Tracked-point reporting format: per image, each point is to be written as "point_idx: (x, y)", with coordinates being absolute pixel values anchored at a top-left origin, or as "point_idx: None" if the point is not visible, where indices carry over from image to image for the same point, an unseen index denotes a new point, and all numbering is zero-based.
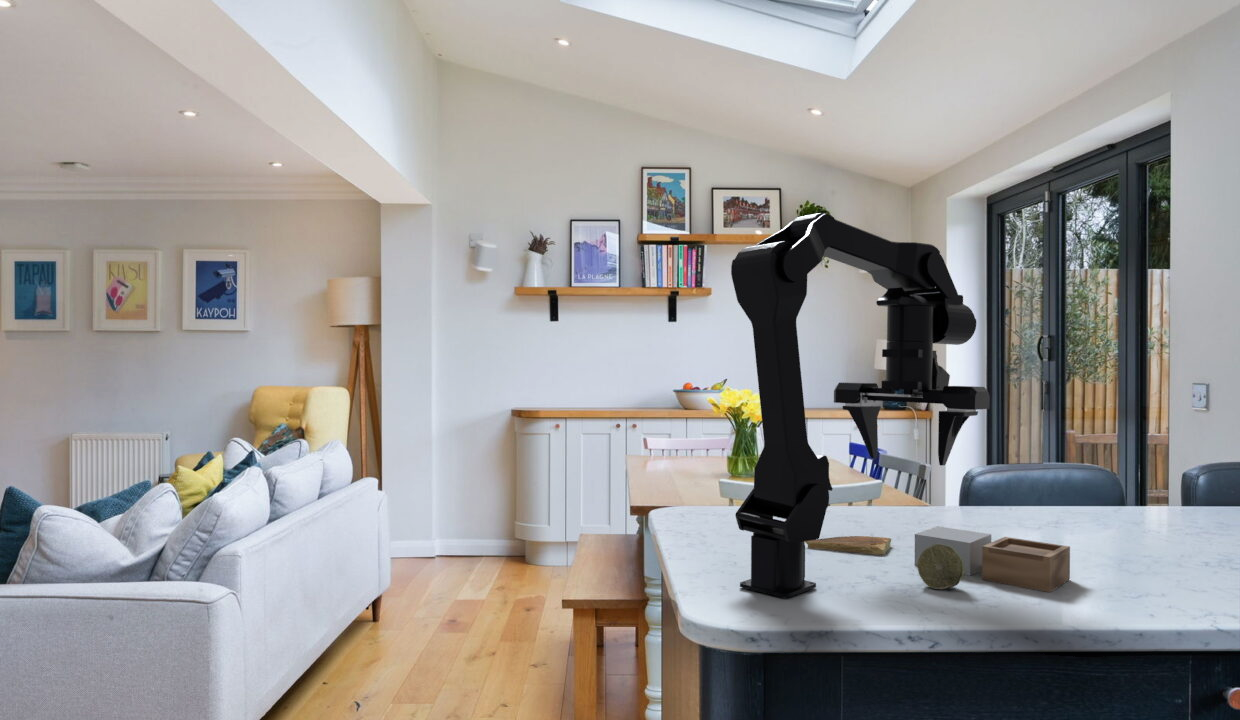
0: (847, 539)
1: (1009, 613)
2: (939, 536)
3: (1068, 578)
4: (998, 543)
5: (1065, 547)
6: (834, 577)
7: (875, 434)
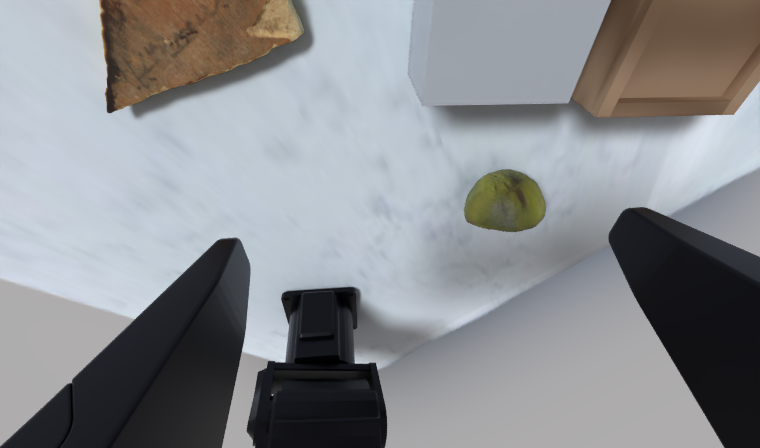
0: (163, 18)
1: (584, 223)
2: (487, 86)
3: None
4: (645, 43)
5: None
6: (339, 240)
7: (181, 389)
